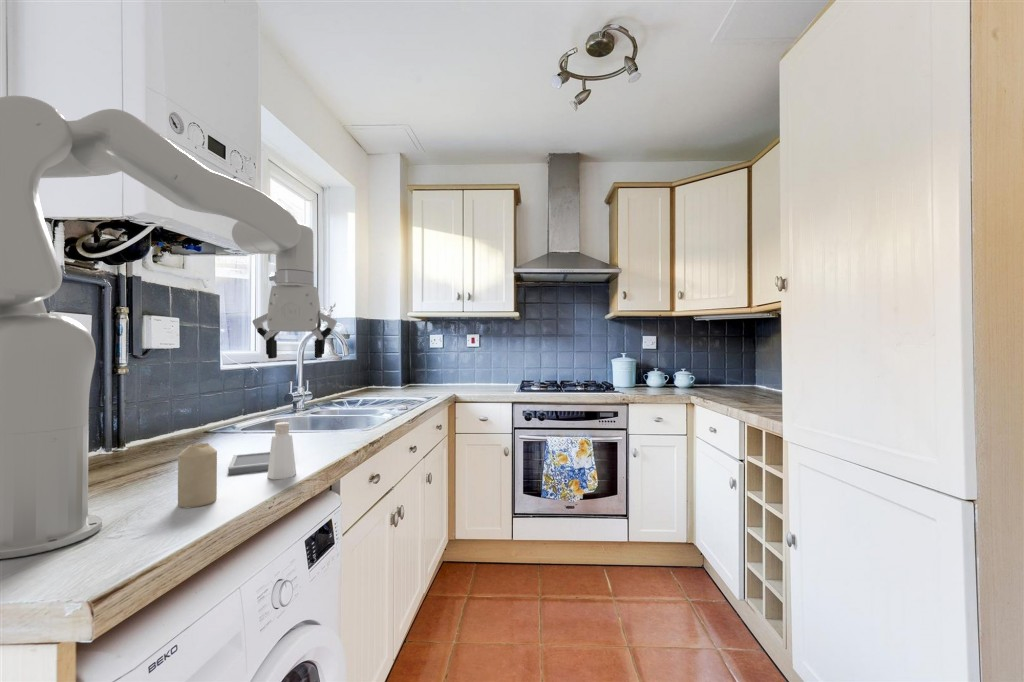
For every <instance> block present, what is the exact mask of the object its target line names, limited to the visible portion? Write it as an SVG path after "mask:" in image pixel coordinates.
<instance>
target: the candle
mask: <svg viewBox="0 0 1024 682" xmlns="http://www.w3.org/2000/svg"><path fill="white" fill-rule="evenodd" d="M217 473H218V451H217V449H216V448H214V447H213V446H212V445H210V443H208V442H207V443H206V442H205V443H198V444H189V445H188V446H187V447H186V448H184V449H183V450H182V451H181V452H179V454H178V456H177V506H178V507H179V508H182V507H190V509H191V507H192V508H197V507H203V506H206V505H210V504H212V503H215V502H216V500H217V496H218V495H217V494H218V489H217V485H218V484H217V483H218V480H217V478H218V477H217V476H218V474H217Z"/></svg>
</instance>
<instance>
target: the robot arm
mask: <svg viewBox="0 0 1024 682" xmlns="http://www.w3.org/2000/svg"><path fill="white" fill-rule="evenodd" d="M120 172H122V173H124V174H126V175H127V176H129V177H130V178H132V179H134V180H135V181H138V182H139V183H141V184H142V185H144V186H146V187H147V188H149V189H150V190H152V191H154V192H155V193H156V194H157V193H158V194H159V195H160V196H161V197H163V198H165V199H166V200H167V201H169V202H171V203H173V204H174V205H176V206H177V207H180V208H183V209H186V210H190V211H194V212H196V213H197V212H198V213H202V214H203V213H204V214H209V215H216V216H221V217H226V218H229V219H232V220H235V221H236V222H235V223H234V224H233V226H232V229H231V237H232V240H233V242H234V243H235V245H237V247H239V248H240V249H241V250H243V251H245V252H247V253H250V254H257V255H258V254H262V255H275V271H274V274H273V275H271V274H270V275H269V276H268V279H269V281H270V282H273V283H274V284H275V285H272V286H271V288H270V292H269V299H268V306H267V313H266V314H263V315H261V316H259V317H257V318H254V319H253V320H252V324H253V327H255V329H256V331H257V333H258V334H259V335H260V336H261V337H262V338H263V339H264V340H265V351H266V352H265V354H266V355H267V357H268V358H267V359H276V358H278V348H277V347H278V340H277V339H276V337H277V336H278V335H279V334H280V333H281V332H284V333H285V332H286V333H287V332H289V333H291V332H292V333H293V332H294V333H295V332H296V333H297V332H299V333H300V332H311V333H312V334H313V335H314V336H315V337H316V339H315V340H314V358H316V359H321V358H323V355H324V354H325V340H326V339H327V337H329V335H331V334H332V333H333V330H334V329H335V327H336V325H337V323H338V320H336V319H334V318H333V317H330V316H328V315H326V314H324V313H322V312H321V305H320V304H321V303H320V298H319V297H320V296H319V292H318V291H319V290H318V289H317V287H316V286H314V285H315V284H314V283H315V282H314V281H315V280H314V279H315V278H314V277H315V276H314V272H315V271H314V270H315V269H314V268H315V267H314V261H315V260H314V232H313V229H312V228H311V227H310V226H308V225H306V224H303V223H298V221H297V219H296V218H295V216H294V215H292V213H291V212H290V211H288V210H287V209H286V208H285V207H284V206H282V204H280V203H278V202H277V201H276V200H275V199H273V197H270V196H269V195H267V194H266V193H265V192H263V191H261V190H259V189H257V188H256V187H253V186H251V185H248V184H246V183H244V182H242V181H238V180H237V179H233V178H231V177H229V176H227V175H224V174H221V173H218V172H216V171H214V170H211V169H209V168H208V167H207V166H205V165H203V164H202V163H201V162H199V161H198V160H196V159H195V158H194V157H192V156H191V155H190V154H188V153H186V152H185V151H184V150H182V149H181V148H180V147H178V146H177V145H176V144H175V143H173V142H172V141H170V140H169V139H168V138H166V137H164V136H163V135H162V134H160V133H159V132H157V131H156V130H155V129H153V128H152V127H151V126H149V125H148V124H147V123H146V122H144V121H143V120H141V119H139V118H138V117H137V116H136V115H135V116H134V115H133V114H131V113H129V112H127V111H124V110H122V109H116V108H107V109H106V108H105V109H101V110H97V111H94V112H92V113H90V114H88V115H86V116H84V117H82V118H79V119H77V120H67V119H66V118H65V117H64V116H63V114H62V113H61V112H60V111H59V110H57V108H55V107H53V106H52V105H50V103H47V102H46V101H43V100H40V99H39V98H35V97H32V96H25V95H6V96H1V97H0V560H2V559H11V558H12V559H13V558H18V557H26V556H31V555H35V554H40V553H44V552H47V551H48V552H49V551H53V550H55V549H59V548H63V547H65V546H69V545H71V544H72V545H73V544H75V543H76V542H80V541H82V540H85V539H87V538H89V537H90V536H92V535H95V534H96V533H98V531H100V530H101V528H102V527H103V519H102V518H101V516H98V515H95V514H89V433H90V431H89V429H90V428H89V427H90V426H89V424H90V423H89V417H90V415H89V412H90V411H89V408H90V406H89V405H90V404H89V403H90V393H91V392H90V390H91V385H92V378H93V374H94V369H95V365H96V355H97V354H96V353H97V351H96V343H95V341H94V338H93V336H92V334H91V333H90V331H89V330H88V329H87V328H86V327H85V326H84V325H82V324H81V323H80V322H79V321H77V320H75V319H74V318H71V317H69V316H65V315H62V314H58V313H50V312H48V311H47V308H46V306H45V301H44V300H46V299H48V298H50V297H52V296H53V295H54V294H56V293H57V292H58V290H59V289H60V287H61V285H62V281H63V270H62V266H61V263H60V262H59V261H60V260H59V259H58V256H57V253H56V251H55V247H54V244H53V242H52V238H51V236H50V233H49V229H48V226H47V224H46V220H45V218H44V213H43V210H42V206H41V200H40V194H39V188H40V180H41V179H55V178H59V179H60V178H62V179H64V178H86V177H100V176H102V177H103V176H108V175H113V174H117V173H120ZM322 321H324V322H326V323H327V326H326V328H325V329H324V330H323V331H322V330H321V327H322ZM264 323H267V328H268V329H269V330H268V329H266V328H265V327H264Z"/></svg>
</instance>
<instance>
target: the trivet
mask: <svg viewBox="0 0 1024 682" xmlns="http://www.w3.org/2000/svg"><path fill="white" fill-rule="evenodd" d="M269 458H270V451H264V452H263V451H262V452H261V451H260V452H251V453H243V454H241V453H240V454H234V455H233V456H232V457H231V460H230V463H229V465H228V467H227V468H228V469H227V474H228V475H229V476H230V475H238V474H239V475H240V474H247V473H255V472H256V473H257V472H265V471H267V472H268V466H269Z"/></svg>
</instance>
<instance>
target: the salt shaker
mask: <svg viewBox="0 0 1024 682" xmlns="http://www.w3.org/2000/svg"><path fill="white" fill-rule="evenodd" d="M290 425H291V424H290V422H287V421H282V422H280V421H279V422H276V423H274V431H275V433H274V434H273V436H272V437H271V442H270V449H269V452H270V458H269V466H268V470H267V475H266V477H267V479H270V480H273V481H274V480H286V479H290V478H294V476H295V475H296V474H297V469H296V460H295V452H294V451H295V450H294V441H293V435H292V433H290Z"/></svg>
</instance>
